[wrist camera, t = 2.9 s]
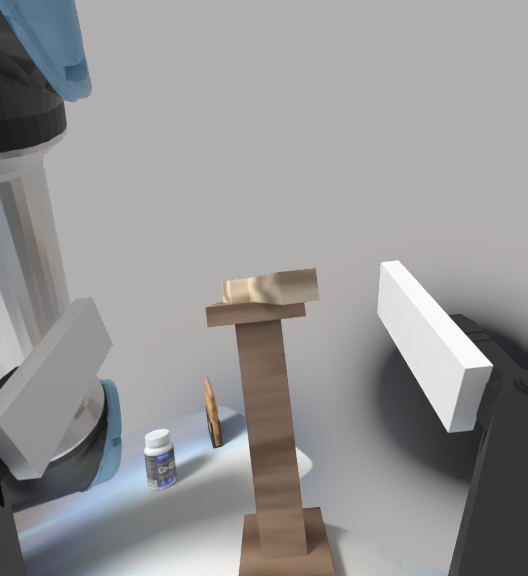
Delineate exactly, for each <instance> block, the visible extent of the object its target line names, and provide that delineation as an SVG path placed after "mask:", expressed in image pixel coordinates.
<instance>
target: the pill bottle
mask: <svg viewBox="0 0 528 576" xmlns="http://www.w3.org/2000/svg"><path fill="white" fill-rule="evenodd" d="M145 442H146V448H145V450H144V454H145V463H146V472H147V481H148V486H149V488H150V489H153V490H162V489H165V488H167V487H169V486H171V485H172V484H173V483H174V482H175V481H176V479H177V475H176V467H175V458H174V448H173V443H172V441H170V433H169V430H167V429H159V430H155V431H152V432H150V433H148V434H147V435H146V436H145Z"/></svg>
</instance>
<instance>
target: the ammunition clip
mask: <svg viewBox="0 0 528 576" xmlns="http://www.w3.org/2000/svg"><path fill="white" fill-rule="evenodd" d="M205 392H206V393H205V398H206V412H207V421H208V429H209V433H210V437H211V441H212V445H213V448H217V447H221V446H222V438H221V430H220V421H219V418H218V411H217V406H216V403H215V397H214V392H213V390H212V387H211V385H210V382H209V379H208V378H207V377H206V379H205Z"/></svg>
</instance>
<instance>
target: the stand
mask: <svg viewBox="0 0 528 576" xmlns="http://www.w3.org/2000/svg"><path fill="white" fill-rule="evenodd" d="M206 316H207V324H208V327H213V326H214V327H215V326H223V325H232V324H235V327H236V336H237V345H238V354H239V362H240V371H241V380H242V388H243V396H244V405H245V413H246V422H247V431H248V440H249V448H250V457H251V465H252V474H253V482H254V491H255V499H256V508H257V514H248V515H245V518H244V528H243V538H242V548H241V558H240V568H239V576H335V571H334V567H333V562H332V558H331V554H330V549H329V545H328V541H327V536H326V532H325V528H324V523H323V519H322V515H321V510H320V507H314V508H305V509H302V501H301V493H300V484H299V475H298V466H297V458H296V449H295V440H294V432H293V423H292V414H291V405H290V397H289V389H288V379H287V371H286V362H285V353H284V344H283V335H282V327H281V319H285V318H293V317H301V316H302V317H303V316H306V314H305V305H304V302H302V303H294V304H287V305H278V304H269V303H259V302H243V303H235V304H230V303H224V302H219V303H216V304H214V305H211V306H209V307H206Z"/></svg>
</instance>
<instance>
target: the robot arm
mask: <svg viewBox="0 0 528 576" xmlns="http://www.w3.org/2000/svg"><path fill="white" fill-rule="evenodd" d="M82 42H83V41H82V36H81V30H80V25H79V20H78V16H77V11H76V6H75V1H74V0H0V576H27V575H26V571H25V566H24V562H23V557H22V553H21V548H20V544H19V539H18V535H17V530H16V526H15V521H14V517H13V514H14V513H17V512H20V511H23V510H26V509H29V508H32V507H35V506H38V505H41V504H44V503H47V502H50V501H53V500H56V499H59V498H62V497H65V496H68V495H71V494H74V493H77V492H85V491H88V490H90V489H91V488H92V487H93V486H96V485H98V484H101V483H103V482H106V481H108V480H110V479H111V478H112V477H113V476H114V475H115V474H116V473H117V471H118V469H119V466H120V461H121V452H122V442H121V428H122V426H121V412H120V403H119V397H118V392H117V388H116V385H115V384H114V382H112V381H111V380H109V379H105V380H102V379H99V378H98V377H97V376H96V374H97V372H98V371H99V369H100V367H101V365H102V363H103V361H104V359H105V358H106V356H107V354H108V352H109V350H110V348H111V346H112V345H113V344H112V341H111V339H110V337H109V335H108V332H107V330H106V328H105V326H104V323H103V321H102V319H101V317H100V315H99V312H98V310H97V308H96V306H95V304H94V301H93V299H92V298H83V299H75V301H74V302H73V303H72V304H70V299H69V294H68V288H67V283H66V278H65V273H64V268H63V263H62V258H61V253H60V247H59V242H58V237H57V232H56V227H55V222H54V216H53V212H52V206H51V201H50V196H49V191H48V186H47V181H46V175H45V170H44V165H43V160H42V159H43V157H44V155H45V154H46V153H48V152H49V151H50V150H51V149H52V148H53V147H54V146H55V145H56V144H57V143H59V142H60V141H61V140H62V139H63V137H64V136H65V135H66V132H67V122H66V115H65V108H64V101H63V99H64V100H65V101H70V102H76V101H77V100H78V99H81V98H87V97H88V96H89V95H90V94H91V91H92V86H91V81H90V77H89V72H88V67H87V62H86V57H85V53H84V48H83V43H82ZM378 315H379V317H380V318H381V320H382V322H383V323H384V325H385V327H386V328H387V330H388V332H389V333H390V335H391V337H392V339H393V340H394V342H395V343H396V345H397V347H398V348H399V350H400V352H401V354H402V355H403V357H404V359H405V360H406V362H407V364H408V366H409V367H410V369H411V371H412V372H413V374H414V376H415V377H416V379H417V381H418V382H419V384H420V386H421V387H422V389H423V391H424V392H425V394H426V396H427V398H428V399H429V401H430V403H431V404H432V406H433V408H434V409H435V411H436V413H437V414H438V416H439V418H440V419H441V421H442V423H443V425H444V426H445V428H446V429H447V431H448V433H450V432H459V431H468V430H473V428H474V425H475V421H476V418H478V420H479V421H480V422H481V424H482V425H483V427H484V428H485V430H484V432H483V436H482V438H481V441H480V444H479V447H478V450H479V452H478V456H477V460H476V464H475V468H474V472H473V476H472V480H471V485H470V488H469V492H468V497H467V501H466V505H465V509H464V513H463V517H462V521H461V525H460V529H459V533H458V537H457V541H456V545H455V549H454V553H453V558H452V562H451V566H450V570H449V574H448V576H528V370H524V369H521V368H520V367H519V366H518V365H517V364H516V363H515V362H514V361H513V360H512V359H511V358H510V357H509V356H508V355H507V354H506V353H505V352H504V351H503V350H502V349H501V348H500V347H499V346H498V345H497V344H496V343H495V342H494V341H492V340H491V338H490V337H489V336H488V335H487V334H486V333H484V331H483V330H482V329H481V328H480V327H479V326H478V325H477V324H476V323H475V322H474V321H472V320H471V319H469V318H467V317H465V316H463V315H462V314H455V315H447V314H446V313H445V312H444V311H443V309H442V308H441V307H440V306H439V305H438V304H437V303H436V302H435V300H434V299H433V298H432V297H431V296H430V295H429V294H428V293H427V292H426V291H425V289H424V288H423V287H422V286H421V285H420V284H419V283H418V282H417V281H416V280H415V278H414V277H413V276H412V275H411V274H410V273H409V272H408V271H407V270H406V269H405V267H404V266H403V265H402V264H401V263H400V262H399V261H390V262H382V263H381V271H380V284H379V298H378Z"/></svg>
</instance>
